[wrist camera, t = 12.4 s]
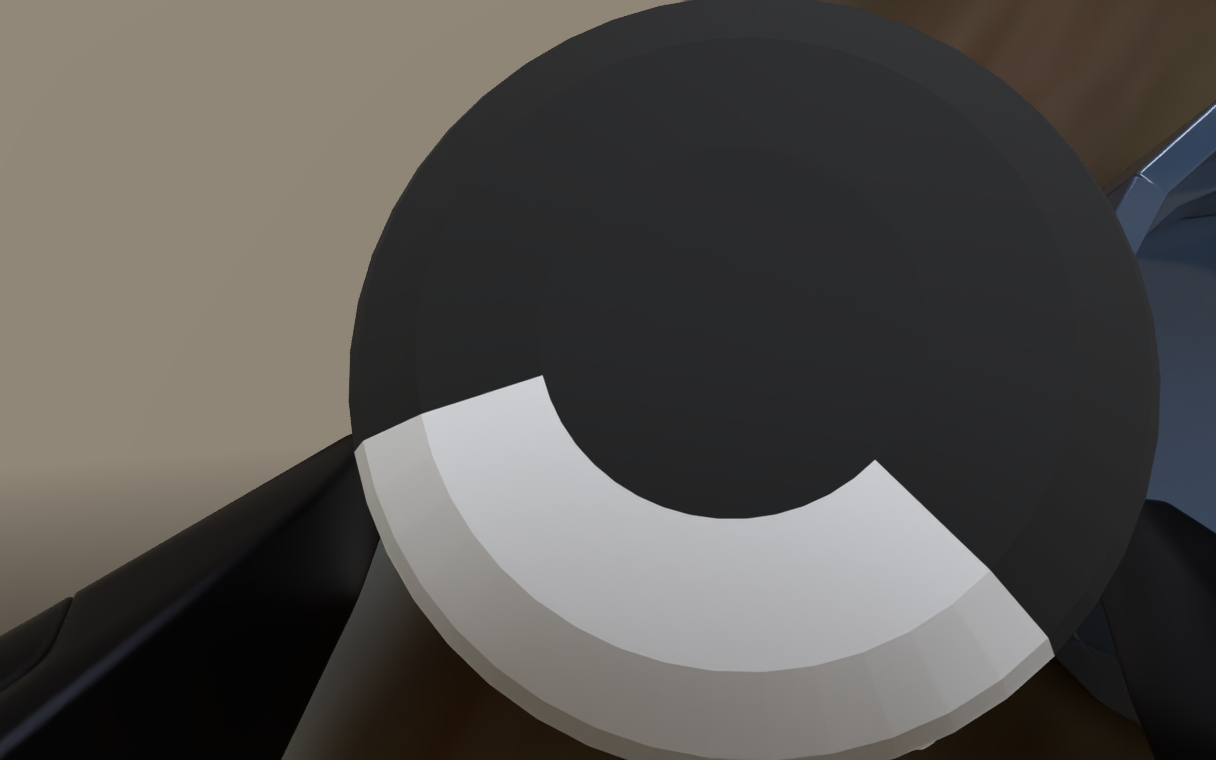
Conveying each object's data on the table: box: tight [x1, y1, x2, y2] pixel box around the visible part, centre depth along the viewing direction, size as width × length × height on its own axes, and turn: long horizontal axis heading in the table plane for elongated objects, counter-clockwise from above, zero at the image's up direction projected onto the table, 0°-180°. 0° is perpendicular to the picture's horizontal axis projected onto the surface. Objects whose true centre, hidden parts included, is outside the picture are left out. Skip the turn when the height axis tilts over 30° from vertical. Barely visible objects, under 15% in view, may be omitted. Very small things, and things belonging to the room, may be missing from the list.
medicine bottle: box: [349, 0, 1161, 760], centre depth 10 cm, size 7×7×12 cm
